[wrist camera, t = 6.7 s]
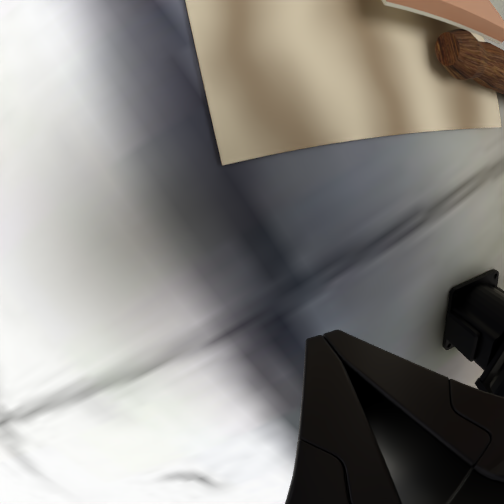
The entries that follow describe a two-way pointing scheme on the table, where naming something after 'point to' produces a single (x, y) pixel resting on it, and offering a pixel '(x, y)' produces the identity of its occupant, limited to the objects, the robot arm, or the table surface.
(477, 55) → the meat cleaver
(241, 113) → the board
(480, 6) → the tile
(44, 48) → the table surface
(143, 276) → the table surface
